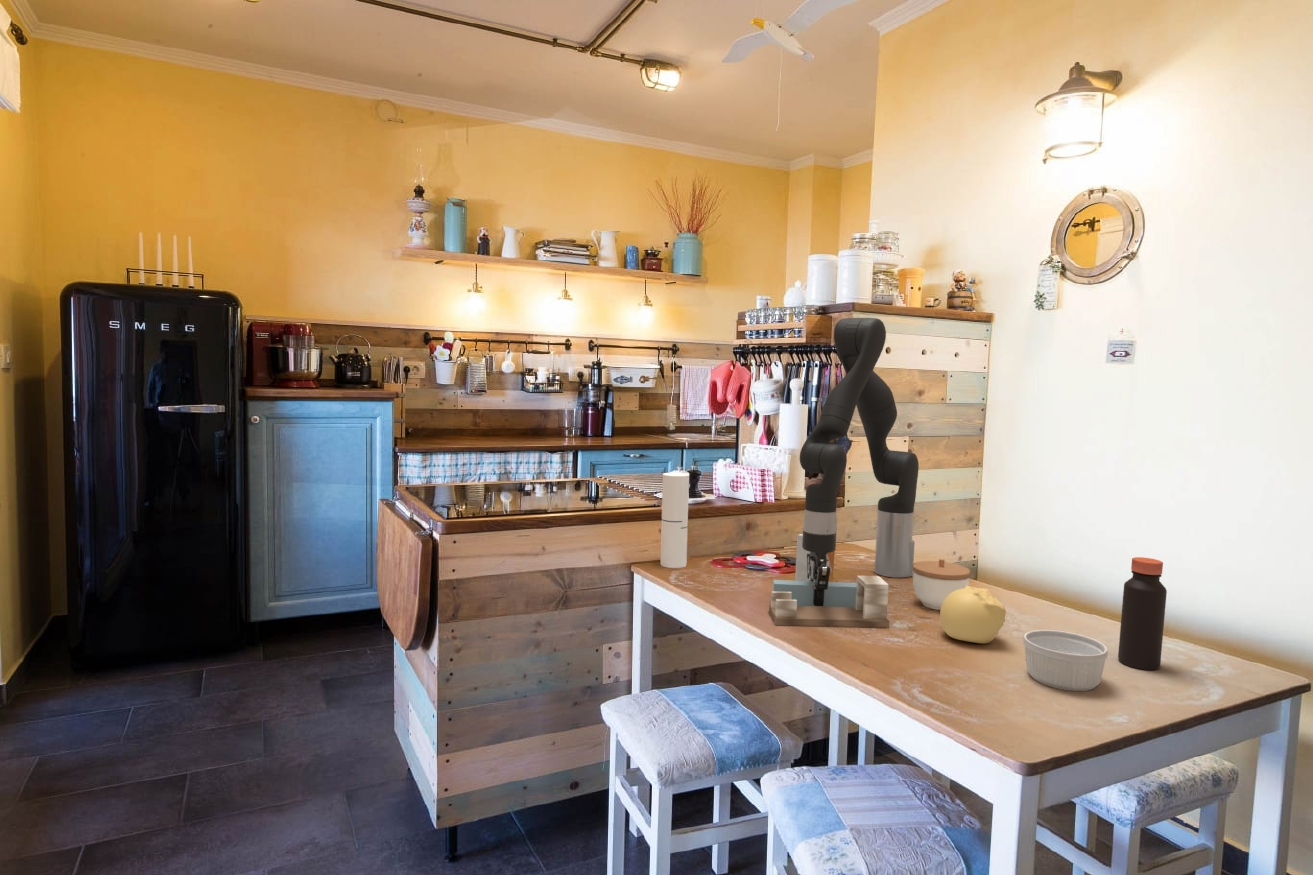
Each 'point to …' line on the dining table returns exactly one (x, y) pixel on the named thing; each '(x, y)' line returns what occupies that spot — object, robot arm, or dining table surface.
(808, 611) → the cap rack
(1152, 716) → the dining table surface
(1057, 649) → the ramekin
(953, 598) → the yellow clay lump
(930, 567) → the lidded bowl
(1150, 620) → the bottle
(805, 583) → the slat
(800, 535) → the small box
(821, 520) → the robot arm
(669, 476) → the cylindrical container
